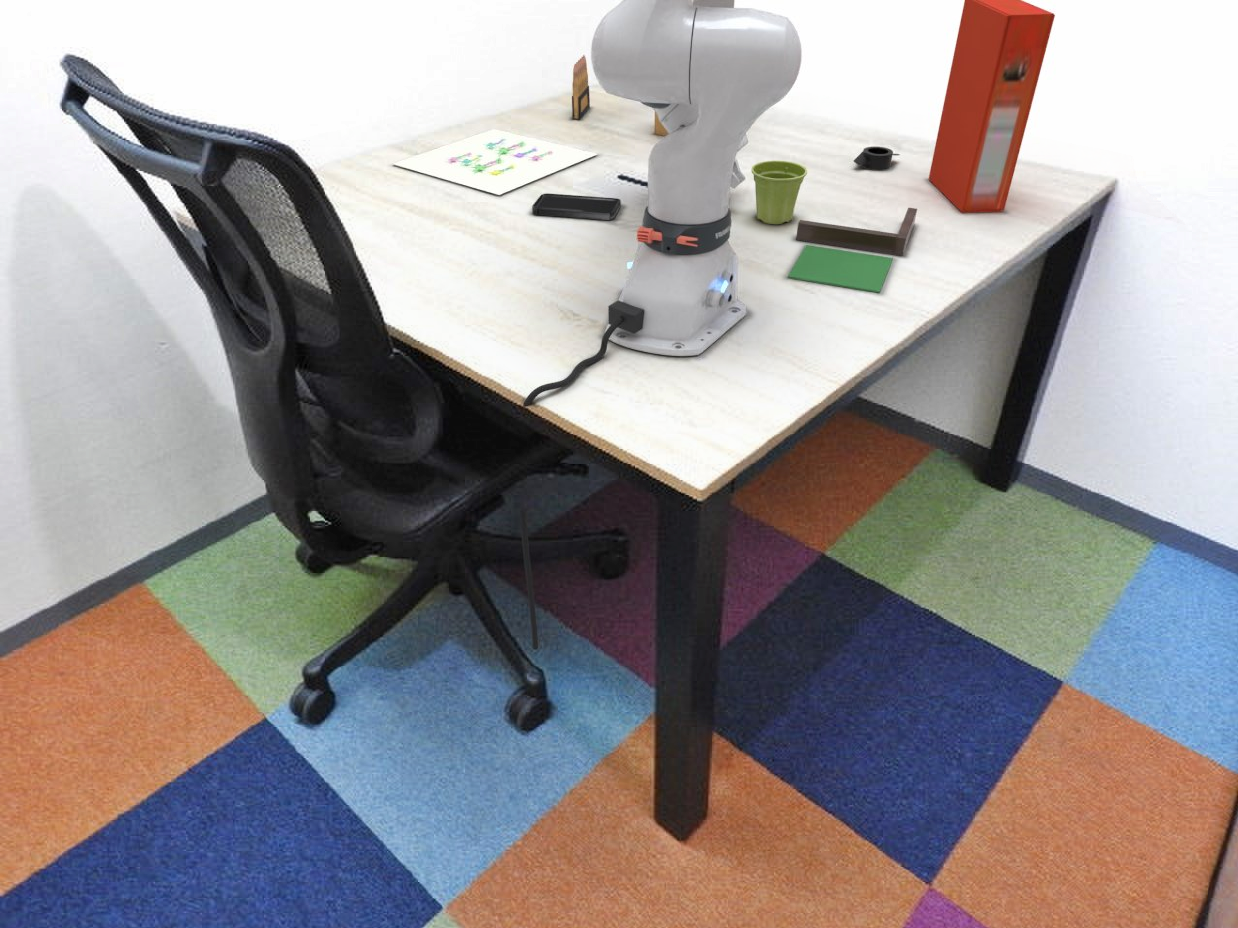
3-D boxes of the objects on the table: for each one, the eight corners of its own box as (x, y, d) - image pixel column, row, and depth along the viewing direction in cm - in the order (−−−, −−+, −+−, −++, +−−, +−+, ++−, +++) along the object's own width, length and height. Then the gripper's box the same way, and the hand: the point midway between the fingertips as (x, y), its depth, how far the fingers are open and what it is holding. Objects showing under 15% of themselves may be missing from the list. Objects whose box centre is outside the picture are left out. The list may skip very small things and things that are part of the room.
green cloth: (879, 293, 130) (879, 291, 129) (787, 278, 134) (787, 276, 134) (892, 259, 139) (892, 258, 139) (806, 246, 143) (806, 244, 143)
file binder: (959, 213, 155) (1007, 14, 136) (926, 180, 169) (965, -5, 150) (1003, 212, 155) (1057, 14, 136) (967, 179, 169) (1011, -5, 150)
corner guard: (902, 256, 140) (906, 238, 138) (795, 240, 146) (798, 223, 144) (913, 225, 151) (917, 208, 149) (813, 211, 156) (816, 195, 154)
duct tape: (848, 158, 179) (850, 144, 177) (897, 160, 178) (900, 145, 177) (852, 171, 173) (855, 156, 171) (904, 172, 172) (906, 157, 171)
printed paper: (499, 196, 162) (498, 189, 161) (391, 165, 177) (390, 158, 176) (598, 155, 181) (598, 148, 180) (494, 130, 196) (493, 123, 195)
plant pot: (800, 230, 149) (806, 180, 144) (745, 226, 150) (749, 176, 145) (801, 210, 156) (808, 162, 151) (749, 207, 158) (753, 159, 152)
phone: (542, 193, 160) (621, 198, 158) (542, 199, 161) (621, 204, 158) (530, 208, 154) (612, 214, 152) (530, 214, 155) (612, 220, 152)
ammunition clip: (580, 120, 202) (578, 64, 195) (572, 119, 202) (570, 64, 195) (589, 107, 210) (588, 54, 203) (582, 107, 211) (580, 54, 203)
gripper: (679, 123, 141) (730, 192, 143) (725, 94, 155) (772, 157, 158) (653, 147, 145) (704, 214, 148) (701, 116, 160) (746, 177, 162)
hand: (739, 184), depth 153 cm, fingers closed
